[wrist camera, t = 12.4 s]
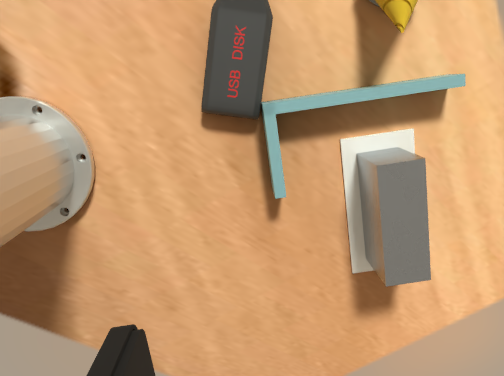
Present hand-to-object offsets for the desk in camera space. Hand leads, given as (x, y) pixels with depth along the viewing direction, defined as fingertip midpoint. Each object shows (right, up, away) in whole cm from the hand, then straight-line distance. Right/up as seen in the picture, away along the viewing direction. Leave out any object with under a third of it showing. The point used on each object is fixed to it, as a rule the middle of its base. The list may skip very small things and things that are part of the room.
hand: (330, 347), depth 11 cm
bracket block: (+11, +2, +31) cm, 33 cm away
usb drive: (-3, +17, +28) cm, 32 cm away
